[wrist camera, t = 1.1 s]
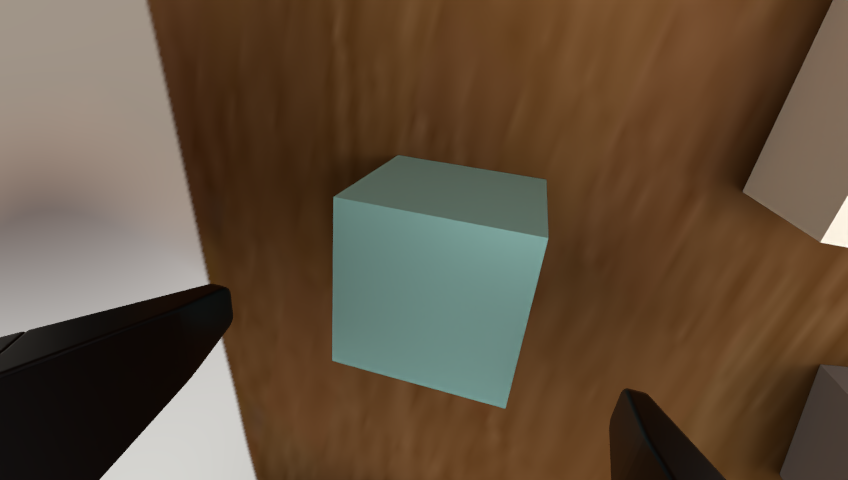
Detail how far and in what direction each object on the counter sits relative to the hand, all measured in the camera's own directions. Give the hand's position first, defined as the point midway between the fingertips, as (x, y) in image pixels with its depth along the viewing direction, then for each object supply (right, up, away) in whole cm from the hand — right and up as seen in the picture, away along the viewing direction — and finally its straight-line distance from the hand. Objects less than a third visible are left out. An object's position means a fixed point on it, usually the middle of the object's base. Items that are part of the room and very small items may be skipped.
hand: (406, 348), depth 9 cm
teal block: (+2, +3, +6) cm, 6 cm away
